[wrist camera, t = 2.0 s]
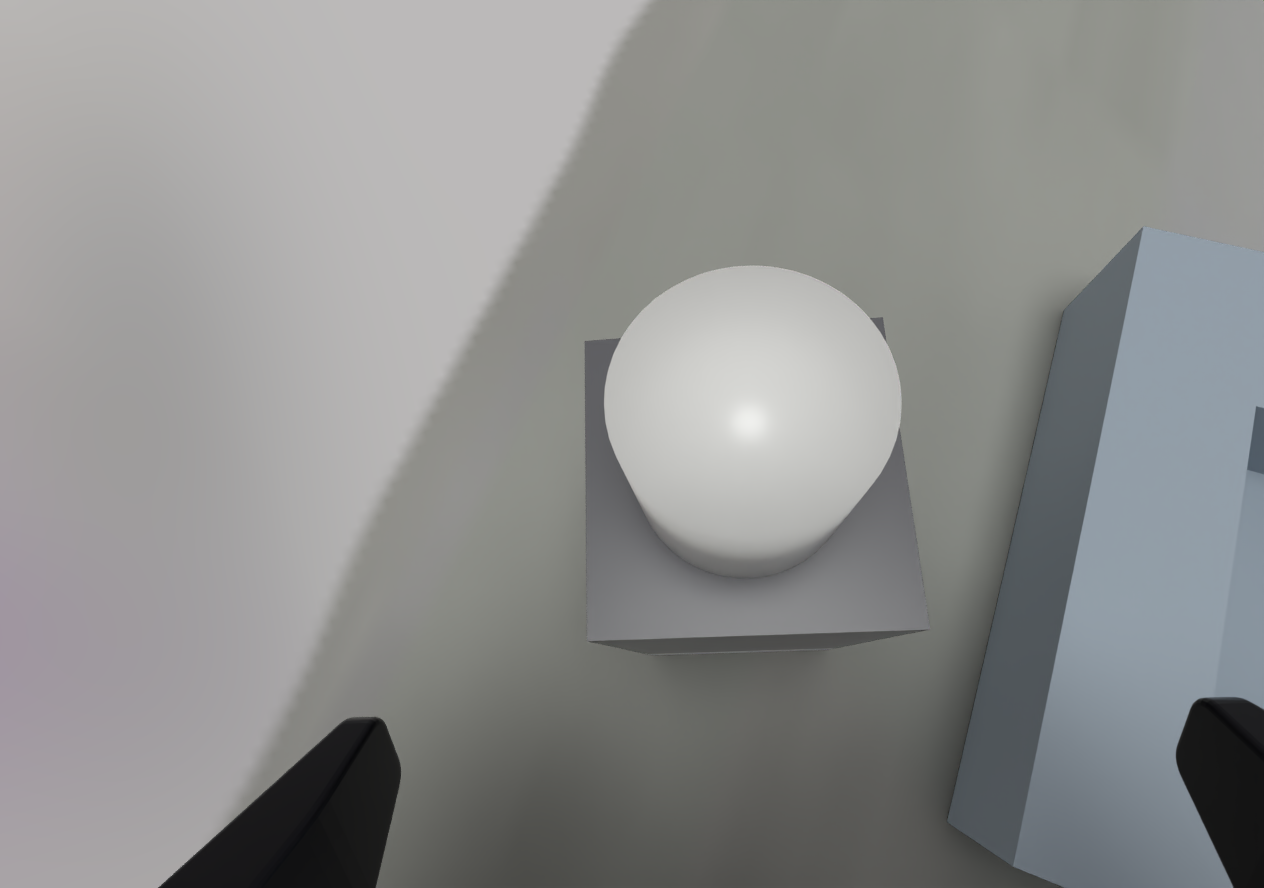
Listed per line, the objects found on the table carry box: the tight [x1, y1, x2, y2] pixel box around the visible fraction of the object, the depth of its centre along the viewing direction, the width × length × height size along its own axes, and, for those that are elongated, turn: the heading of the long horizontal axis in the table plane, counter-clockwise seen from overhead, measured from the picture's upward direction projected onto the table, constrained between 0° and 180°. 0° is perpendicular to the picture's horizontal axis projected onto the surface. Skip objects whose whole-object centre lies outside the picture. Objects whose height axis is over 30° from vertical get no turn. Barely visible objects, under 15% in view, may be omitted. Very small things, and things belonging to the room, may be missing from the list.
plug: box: [585, 266, 930, 655], centre depth 13 cm, size 4×4×12 cm
